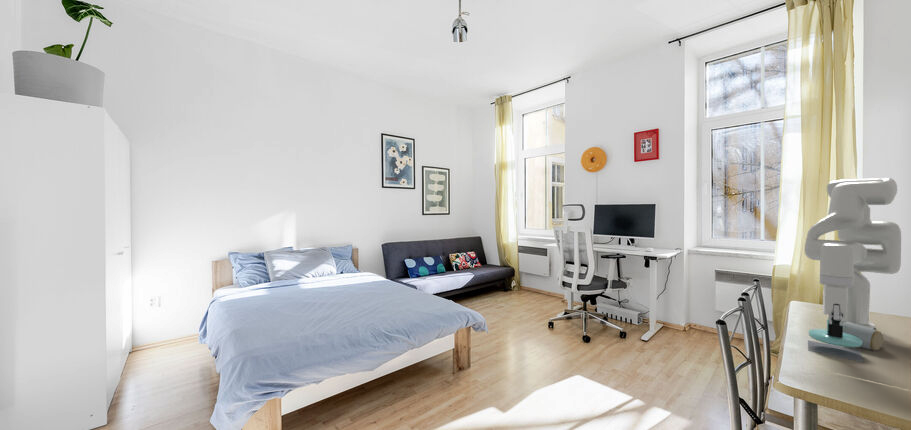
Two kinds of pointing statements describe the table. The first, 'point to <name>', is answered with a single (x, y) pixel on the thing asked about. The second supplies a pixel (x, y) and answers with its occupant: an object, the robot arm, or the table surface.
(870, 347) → the ceramic mug
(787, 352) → the table surface
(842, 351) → the mat
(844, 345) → the lid
